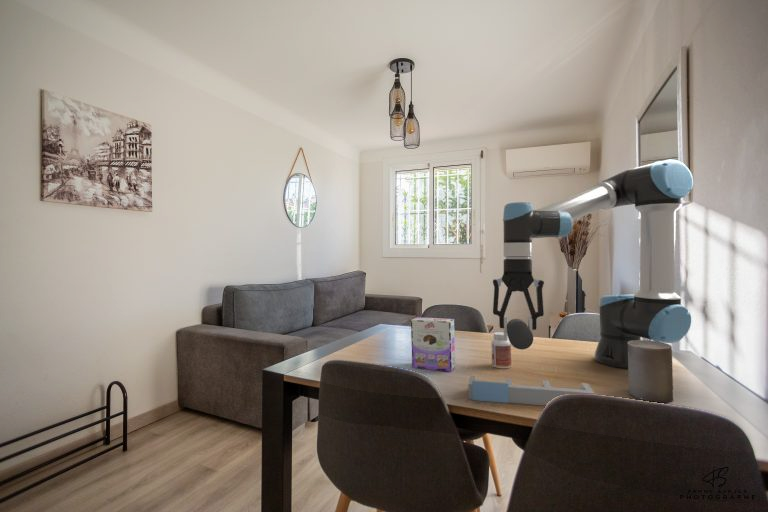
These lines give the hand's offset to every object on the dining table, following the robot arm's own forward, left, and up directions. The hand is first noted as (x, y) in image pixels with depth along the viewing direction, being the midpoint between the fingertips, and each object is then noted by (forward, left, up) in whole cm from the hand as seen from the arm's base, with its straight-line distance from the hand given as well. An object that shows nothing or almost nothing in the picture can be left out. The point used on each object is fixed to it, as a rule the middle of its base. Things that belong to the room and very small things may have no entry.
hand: (517, 340), depth 106 cm
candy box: (+26, -14, -14) cm, 33 cm away
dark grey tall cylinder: (0, +3, 0) cm, 3 cm away
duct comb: (-2, +7, -14) cm, 16 cm away
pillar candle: (-33, -2, -14) cm, 36 cm away
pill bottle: (+4, -20, -14) cm, 25 cm away
